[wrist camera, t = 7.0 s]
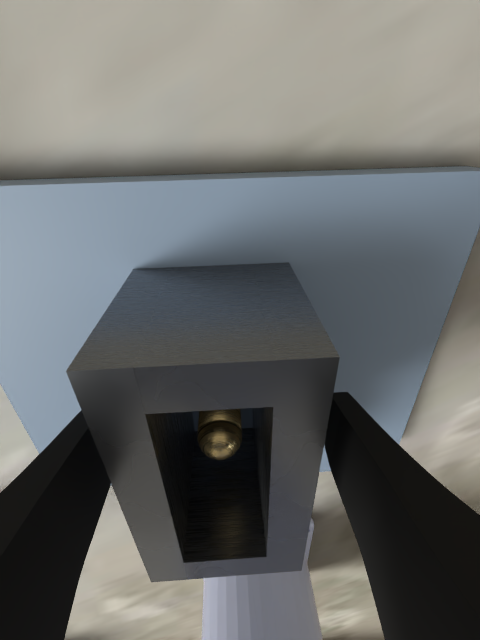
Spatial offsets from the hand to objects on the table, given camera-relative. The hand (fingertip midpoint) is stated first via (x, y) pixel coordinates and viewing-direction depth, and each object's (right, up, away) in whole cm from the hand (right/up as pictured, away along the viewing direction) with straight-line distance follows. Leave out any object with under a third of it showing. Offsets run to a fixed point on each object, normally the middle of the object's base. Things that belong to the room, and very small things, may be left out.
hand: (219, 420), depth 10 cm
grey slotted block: (0, +1, +2) cm, 2 cm away
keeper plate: (0, +2, +3) cm, 4 cm away
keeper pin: (0, +1, +2) cm, 2 cm away
